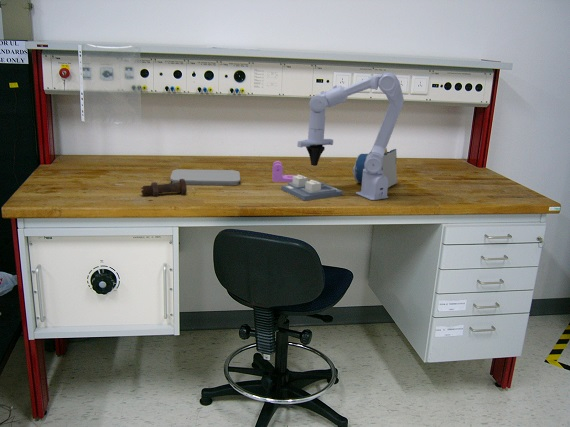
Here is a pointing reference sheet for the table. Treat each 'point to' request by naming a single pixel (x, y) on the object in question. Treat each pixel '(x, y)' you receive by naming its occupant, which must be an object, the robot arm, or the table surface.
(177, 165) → the table surface
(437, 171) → the table surface
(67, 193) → the table surface
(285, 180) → the bracket
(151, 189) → the bolt
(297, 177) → the far tab
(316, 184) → the near tab
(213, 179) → the tablet
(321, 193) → the switch bank
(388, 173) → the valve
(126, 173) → the table surface
